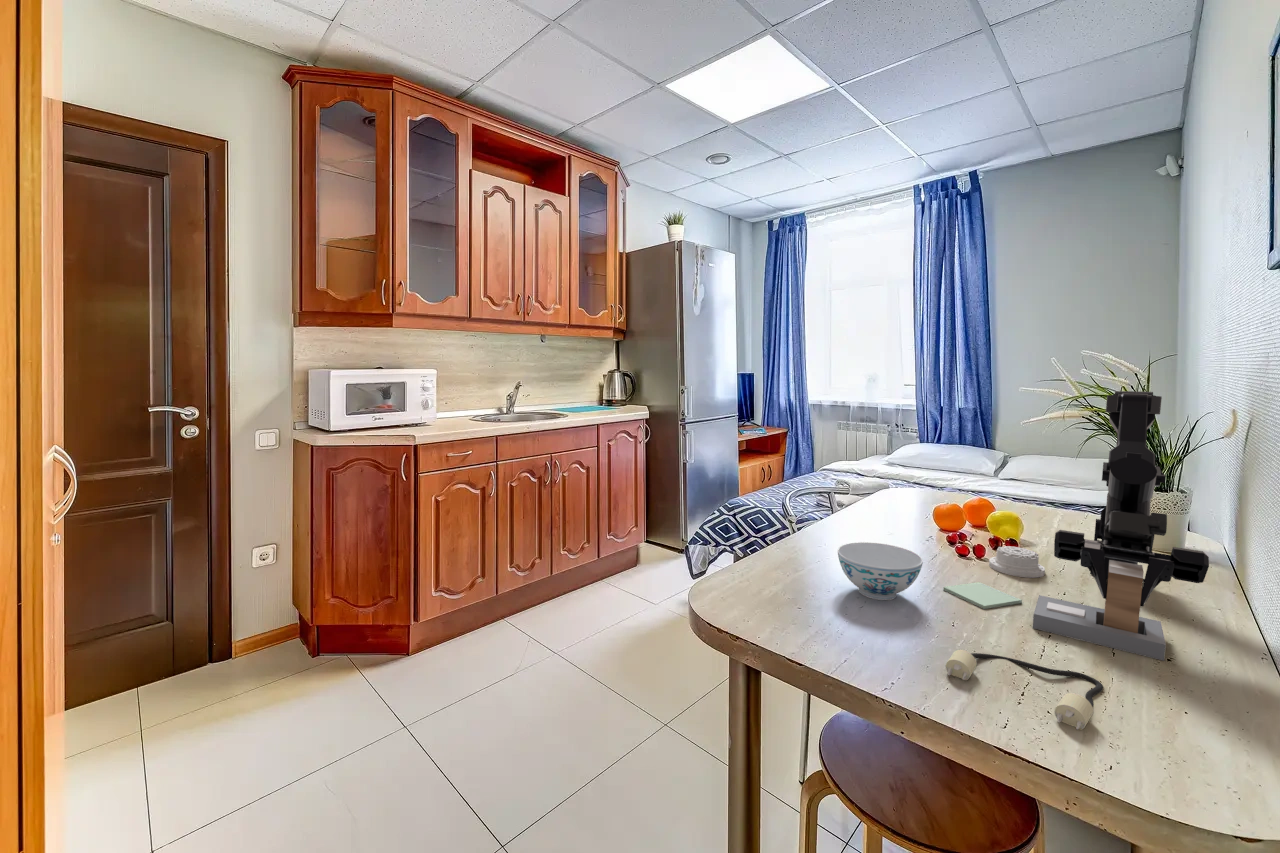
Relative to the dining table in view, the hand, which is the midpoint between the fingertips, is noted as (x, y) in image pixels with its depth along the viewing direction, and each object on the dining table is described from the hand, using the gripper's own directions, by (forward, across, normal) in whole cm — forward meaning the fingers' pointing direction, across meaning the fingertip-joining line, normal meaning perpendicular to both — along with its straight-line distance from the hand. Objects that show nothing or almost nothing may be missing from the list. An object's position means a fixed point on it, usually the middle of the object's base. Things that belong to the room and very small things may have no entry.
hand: (1122, 601), depth 87 cm
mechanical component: (-14, -16, +24) cm, 33 cm away
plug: (+4, 0, +6) cm, 7 cm away
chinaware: (+9, -35, +1) cm, 36 cm away
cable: (+22, -10, -12) cm, 27 cm away
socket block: (+4, -3, +6) cm, 7 cm away
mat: (0, -20, +9) cm, 22 cm away
